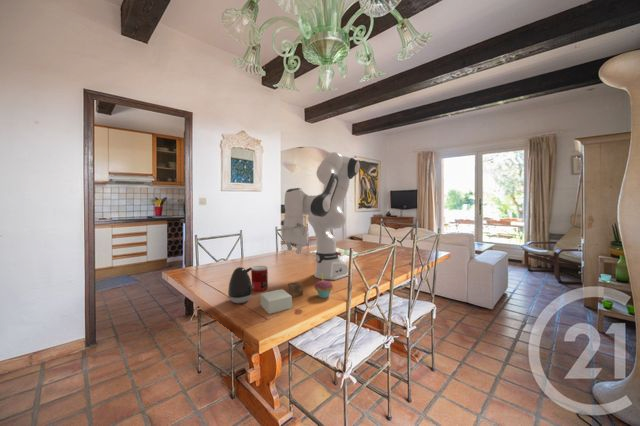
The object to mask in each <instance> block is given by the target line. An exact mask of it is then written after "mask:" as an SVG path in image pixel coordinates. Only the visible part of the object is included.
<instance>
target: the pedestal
mask: <svg viewBox="0 0 640 426" xmlns="http://www.w3.org/2000/svg"><path fill="white" fill-rule="evenodd" d="M260 306H261V307H262V308H263V310H265V311H266V313H268V314H269V315H271V314H274V313H278V312H282V311H287V310H290V309H292V308H293V297H292V296H291V295H290V294H289V292H287V291H286V290H284V289H283V288H281V289H275V290H271V291H267V292H262V293H261V292H260Z"/></svg>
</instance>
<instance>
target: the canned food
mask: <svg viewBox="0 0 640 426" xmlns="http://www.w3.org/2000/svg"><path fill="white" fill-rule="evenodd" d="M251 268H252V270H250V271H251V274H250V275H251V285H252V292H259V293H261V292H265V291H267V290H268V288H269V283H268V279H269V276H268V274H269V273H268V266H266V265H256V266H252V267H251Z"/></svg>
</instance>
